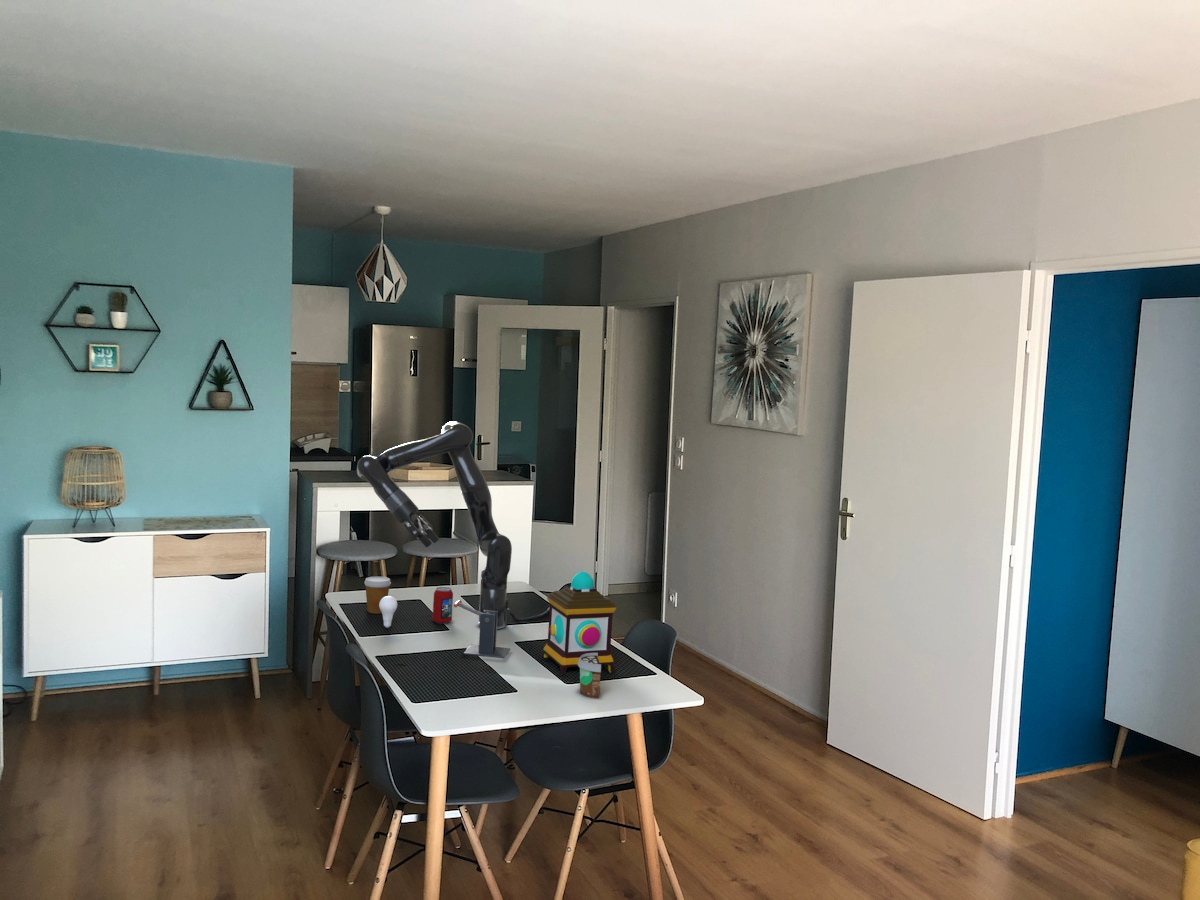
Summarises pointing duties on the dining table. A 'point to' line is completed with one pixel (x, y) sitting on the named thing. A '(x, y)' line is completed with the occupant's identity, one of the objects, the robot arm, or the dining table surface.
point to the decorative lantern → (579, 624)
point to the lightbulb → (388, 609)
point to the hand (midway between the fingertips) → (433, 543)
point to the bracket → (487, 638)
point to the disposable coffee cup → (376, 592)
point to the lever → (467, 608)
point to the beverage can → (442, 605)
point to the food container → (589, 675)
